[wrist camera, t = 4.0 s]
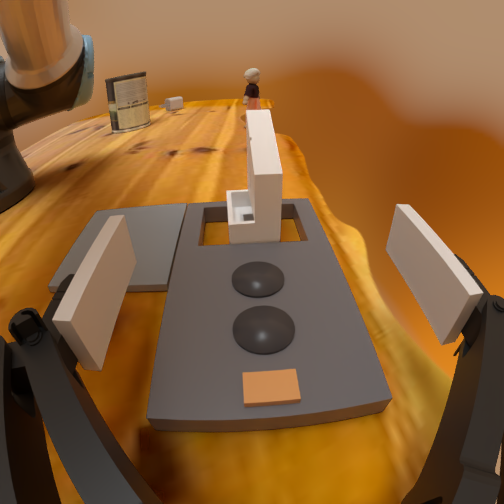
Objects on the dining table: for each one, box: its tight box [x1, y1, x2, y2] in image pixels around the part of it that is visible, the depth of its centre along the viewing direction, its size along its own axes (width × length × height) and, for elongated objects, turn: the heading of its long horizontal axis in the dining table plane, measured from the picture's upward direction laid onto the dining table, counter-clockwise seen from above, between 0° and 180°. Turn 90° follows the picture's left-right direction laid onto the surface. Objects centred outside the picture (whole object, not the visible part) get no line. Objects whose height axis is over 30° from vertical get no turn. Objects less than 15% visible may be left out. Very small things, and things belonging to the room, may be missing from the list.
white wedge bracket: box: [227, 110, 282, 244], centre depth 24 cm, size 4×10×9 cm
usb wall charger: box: [159, 97, 183, 111], centre depth 85 cm, size 4×7×4 cm, turn 129°
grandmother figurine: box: [243, 68, 261, 128], centre depth 57 cm, size 8×4×13 cm, turn 170°
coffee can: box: [105, 72, 151, 133], centre depth 64 cm, size 10×10×14 cm
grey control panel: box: [146, 198, 392, 432], centre depth 20 cm, size 20×11×2 cm, turn 3°
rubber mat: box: [48, 203, 187, 292], centre depth 25 cm, size 12×10×1 cm
